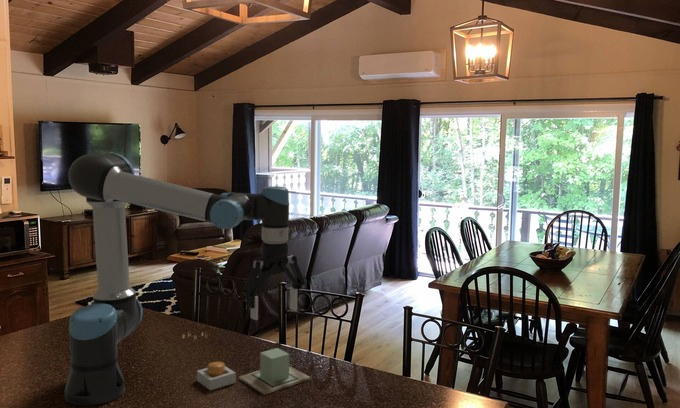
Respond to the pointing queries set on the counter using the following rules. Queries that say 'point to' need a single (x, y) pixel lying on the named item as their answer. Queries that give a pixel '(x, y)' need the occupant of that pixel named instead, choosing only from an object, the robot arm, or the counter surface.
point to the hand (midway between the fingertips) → (274, 314)
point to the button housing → (216, 378)
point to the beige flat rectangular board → (268, 387)
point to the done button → (216, 369)
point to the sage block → (274, 365)
